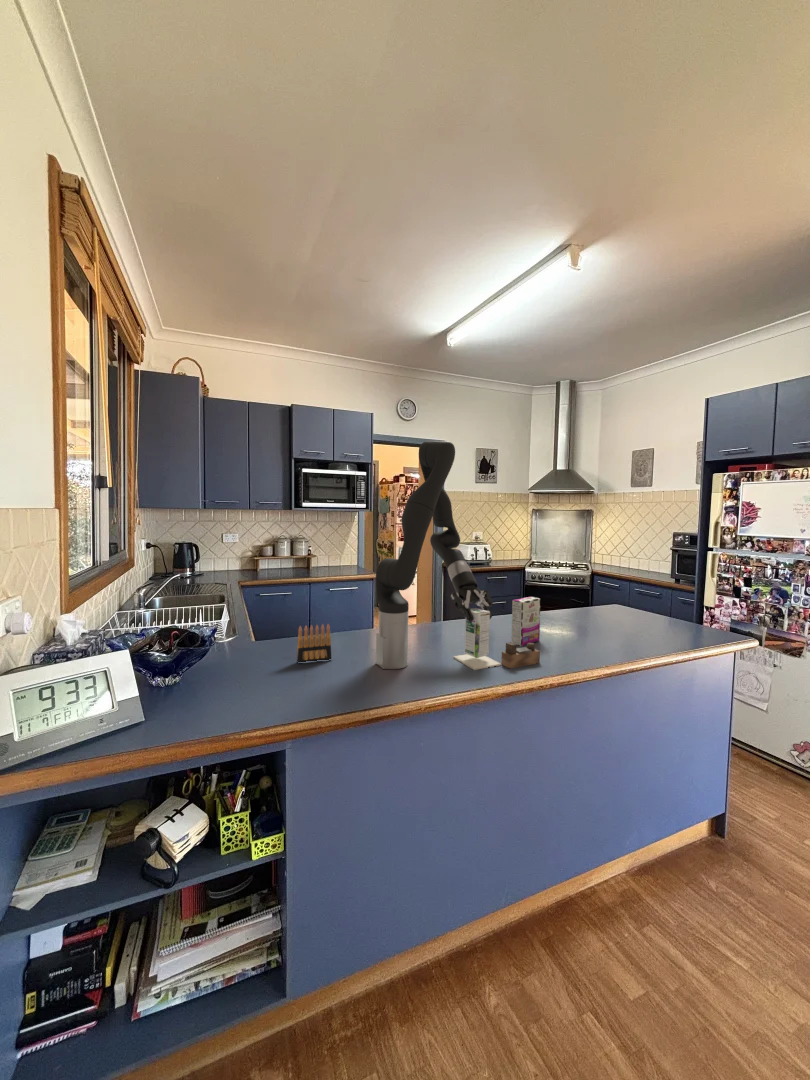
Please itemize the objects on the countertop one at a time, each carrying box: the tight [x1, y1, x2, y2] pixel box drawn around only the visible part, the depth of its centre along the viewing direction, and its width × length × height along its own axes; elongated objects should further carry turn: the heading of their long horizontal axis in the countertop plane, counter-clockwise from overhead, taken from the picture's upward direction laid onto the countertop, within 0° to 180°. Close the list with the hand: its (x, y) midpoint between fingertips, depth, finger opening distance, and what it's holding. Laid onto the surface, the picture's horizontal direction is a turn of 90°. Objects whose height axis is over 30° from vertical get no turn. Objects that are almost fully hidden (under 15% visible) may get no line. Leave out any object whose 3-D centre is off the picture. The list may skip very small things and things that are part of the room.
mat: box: [453, 654, 502, 671], centre depth 144 cm, size 10×12×1 cm
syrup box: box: [464, 607, 491, 658], centre depth 144 cm, size 6×6×14 cm
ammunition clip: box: [296, 623, 332, 662], centre depth 142 cm, size 11×2×12 cm, turn 111°
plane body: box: [500, 641, 541, 669], centre depth 143 cm, size 12×4×7 cm, turn 115°
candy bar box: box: [511, 596, 541, 647], centre depth 166 cm, size 11×5×16 cm, turn 129°
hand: (480, 619), depth 142 cm, fingers closed on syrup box, 6 cm apart
